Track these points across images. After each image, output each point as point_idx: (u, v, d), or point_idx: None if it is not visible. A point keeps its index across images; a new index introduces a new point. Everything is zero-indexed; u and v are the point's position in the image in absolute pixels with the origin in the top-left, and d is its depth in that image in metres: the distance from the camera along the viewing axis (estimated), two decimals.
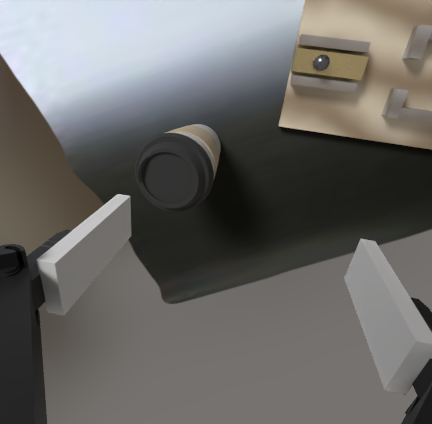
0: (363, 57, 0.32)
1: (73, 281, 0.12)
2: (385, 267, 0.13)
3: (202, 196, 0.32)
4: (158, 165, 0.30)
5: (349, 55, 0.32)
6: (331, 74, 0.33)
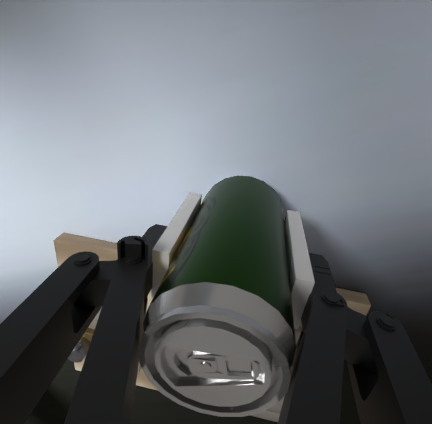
0: None
1: None
2: (298, 230, 0.15)
3: None
4: None
5: None
6: None
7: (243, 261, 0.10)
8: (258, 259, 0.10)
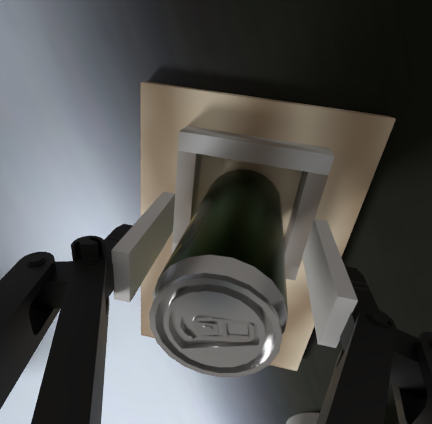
0: None
1: (137, 271, 0.13)
2: (329, 241, 0.14)
3: None
4: None
5: None
6: None
7: (242, 239, 0.11)
8: (256, 238, 0.12)
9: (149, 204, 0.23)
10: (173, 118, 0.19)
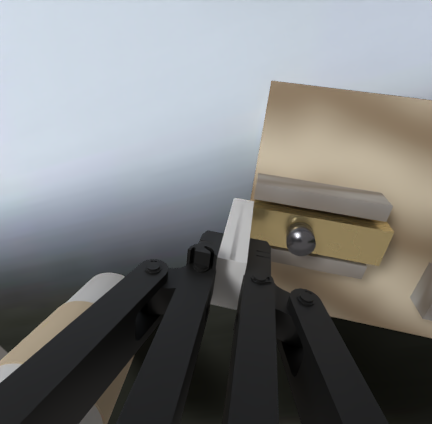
0: (383, 232, 0.16)
1: None
2: (246, 217, 0.16)
3: None
4: None
5: (355, 227, 0.16)
6: (321, 252, 0.18)
7: None
8: None
9: None
10: None
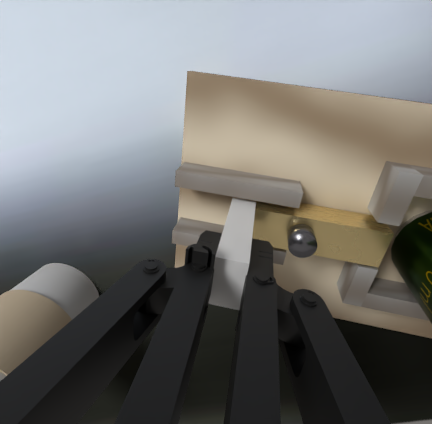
0: (383, 234, 0.16)
1: None
2: (248, 218, 0.16)
3: None
4: None
5: (356, 228, 0.17)
6: (321, 254, 0.18)
7: None
8: None
9: None
10: None
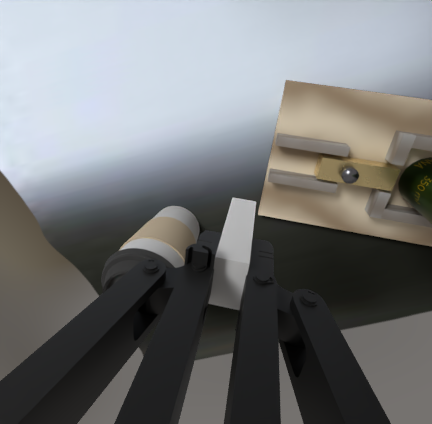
0: (394, 170, 0.30)
1: None
2: (248, 218, 0.16)
3: None
4: None
5: (379, 167, 0.30)
6: (359, 184, 0.31)
7: None
8: None
9: None
10: None
